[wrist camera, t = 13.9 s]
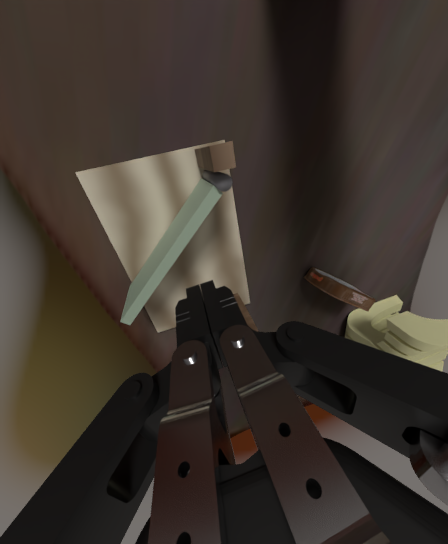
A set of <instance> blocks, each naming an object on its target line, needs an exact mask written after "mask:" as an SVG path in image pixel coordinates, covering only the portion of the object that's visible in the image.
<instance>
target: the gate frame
mask: <svg viewBox="0 0 448 544" xmlns="http://www.w3.org/2000/svg"><path fill="white" fill-rule="evenodd" d="M235 167H236V164H235V157H234V149H233V142H232V141H230V142H225V140H222V141H217V142H213V143H208V144H204V145H199V146H194V147H190V148H185V149H181V150H176V151H172V152H167V153H162V154H158V155H153V156H149V157H144V158H140V159H135V160H130V161H126V162H121V163H117V164H112V165H108V166H103V167H98V168H94V169H89V170H85V171H80V172H76V175H77V177H78V179H79V181H80V183H81V185H82V187H83V188H84V190H85V192H86V194H87V196H88V198H89V200H90V202H91V204H92V206H93V208H94V210H95V212H96V214H97V216H98V218H99V219H100V221H101V223H102V225H103V227H104V229H105V231H106V233H107V235H108V237H109V239H110V241H111V243H112V245H113V247H114V249H115V250H116V252H117V254H118V256H119V258H120V260H121V262H122V264H123V266H124V268H125V270H126V272H127V274H128V276H129V278H130V279H131V281H132V282H133V281H134V279H135V278H136V276H137V275H138V273H139V272H140V270H141V269H142V267H143V266H144V264H145V263H146V261H147V259H148V258H149V256H150V255H151V253H152V252H153V250H154V249H155V247H156V246H157V244H158V243H159V241H160V240H161V238H162V237H163V235H164V234H165V232H166V231H167V229H168V228H169V226H170V225H171V223H172V222H173V220H174V219H175V217H176V216H177V214H178V213H179V211H180V209H181V208H182V206H183V205H184V203H185V202H186V200H187V199H188V197H189V196H190V194H191V193H192V191H193V190H194V188H195V187H196V185H197V184H198V182H199V181H200V179H201V178H202V179H203V177H202V174H203V172H204V170H208V171H212V172H222V173H225V174H228V175H229V176H230V171H229V169H231V168H235ZM221 192H222V193H223V194H222V196H221V197H220V198H219V200H218V201H217V203H216V204H215V205H214V207H213V208H212V210H211V211H210V213H209V214H208V215H207V217H206V218H205V220H204V221H203V222H202V224H201V225H200V227H199V228H198V230H197V231H196V232H195V234H194V235H193V237H192V238H191V239H190V241H189V242H188V244H187V245H186V247H185V248H184V249H183V251H182V252H181V254H180V255H179V256H178V258H177V259H176V261H175V262H174V264H173V265H172V266H171V268H170V269H169V271H168V272H167V273H166V275H165V276H164V278H163V279H162V281H161V282H160V283H159V285H158V286H157V288H156V289H155V290H154V292H153V293H152V295H151V296H150V298H149V299H148V300H147V302H146V303H145V305H144V307H145V309H146V310H147V312H148V314H149V316H150V318H151V320H152V322H153V324H154V326H155V328H156V330H157V332H158V333H159V332H162V331H165V330H168V329H171V328H174V327H176V314H175V307H176V305H177V303H178V301H179V300H182V299H185V298H187V295H186V288H189V287H192V286H195V285H198V284H199V286H200V284H201V283H204V282H207V281H211V280H213V282H214V285H215V288H219V287H222V286H226V287H228V288H229V289H230V290H231V291H232V293H233V295H234V298H235V299H236V301H237V304H238V306H239V308H240V310H241V312H242V314H243V317H244V319H245V321H246V323H247V325H248V326H249V327H250V328H251V329H253V330H255V331H258V329H257V327H256V326H255V324H254V322H253V320H252V318H251V316H250V314H249V313H248V311H247V309H246V307H245V305H246V304H249V303H250V299H249V292H248V286H247V280H246V273H245V267H244V260H243V254H242V247H241V241H240V235H239V228H238V222H237V215H236V209H235V203H234V196H233V190H232V187H231V188H230V189H229V190H228V191H226V192H223V191H221ZM200 288H201V287H200ZM258 332H259V331H258Z"/></svg>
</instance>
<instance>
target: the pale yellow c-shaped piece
mask: <svg viewBox="0 0 448 544" xmlns="http://www.w3.org/2000/svg"><path fill="white" fill-rule="evenodd" d="M402 304H403V302H402V301H401V300H400V299H399V297H398V296H397V295H395V296H393V297H390V298H387V299H384V300H381V301H379V302H376V303H374V304H373V305H372V307H371V308H370V309H369V311H365V310H362V309H360V308H359V309H356V310H354V311H352V312H351V313H350V314H349V316H348V319H347V326H346V332H345V338H347V339H350V340H353V341H356V342H359V343H362V344H365V345H367V346H370V347H373V348H376V349H379V350H382V351H385V352H387V353H390V354H393V355H396V356H399V357H402V358H405V359H408V360H410V361H413V362H416V363H419V364H422V365H425V366H428V367H430V368H433V369H436V370H439V371H442V370H443V365H444V362H443V361H442V360H444V359H445V358H446V356H447V354H448V319H446V320H445V319H444V320H435V319H428V318H423V317H420V316H417V315H415V314H412V313H410V312H408V311H406V312H403V313H401V314H399V313H398V311H400V310H401V307H402Z"/></svg>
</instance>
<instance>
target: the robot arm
mask: <svg viewBox="0 0 448 544" xmlns="http://www.w3.org/2000/svg"><path fill="white" fill-rule="evenodd" d="M200 287H201V288H200ZM186 295H187V298H185V299H182V300H179V301H178V303H177V305H176V307H175V314H176V334H177V349H176V350H175V351H174V353H173V356H172V361H171V362H170V363H169V364H168V365H167V366H166V367H165V368H164V369H162V370H161V371H159V372H158V373H156V374H155V375H153V376H152V377H151V376H150V375H149V374H147V373H138V374H135V375H133V376H131V377H129V378H128V379H127V380H126V381H125V382H124V383H123V384H122V385H121V386H120V387H119V388H118V390H117V391H116V392H115V393H114V395H113V396H112V397H111V399H110V400H109V401H108V402H107V403H106V405H105V406H104V407H103V408H102V410H101V411H100V412H99V414H98V415H97V416H96V417H95V419H94V420H93V421H92V422H91V424H90V425H89V426H88V428H87V429H86V430H85V431H84V432H83V434H82V435H81V436H80V438H79V439H78V440H77V441H76V443H75V444H74V445H73V446H72V448H71V449H70V450H69V452H68V453H67V454H66V455H65V457H64V458H63V459H62V460H61V462H60V463H59V464H58V465H57V467H56V468H55V469H54V470H53V472H52V473H51V474H50V475H49V477H48V478H47V479H46V480H45V482H44V483H43V484H42V485H41V487H40V488H39V489H38V491H37V492H36V493H35V494H34V496H33V497H32V498H31V499H30V501H29V502H28V503H27V505H26V506H25V507H24V508H23V509H22V511H21V512H20V513H19V515H18V516H17V517H16V518H15V520H14V521H13V522H12V523H11V525H10V526H9V527H8V528H7V530H6V531H5V532H4V533H3V535H2V536H1V537H0V544H120V543H121V541H122V539H123V537H124V535H125V533H126V531H127V529H128V527H129V526H130V524H131V521H132V520H133V518H134V516H135V514H136V512H137V510H138V508H139V506H140V504H141V502H142V500H143V498H144V496H145V494H146V492H147V490H148V488H149V486H150V484H151V482H152V480H153V478H154V485H153V496H152V506H151V516H150V518H149V519H148V521H147V522H146V524H145V526H144V528H143V530H142V531H141V533H140V535H139V537H138V539H137V542H136V543H135V544H448V514H447V513H446V512H444V511H443V510H441V509H440V508H438V507H437V506H435V505H434V504H432V503H431V502H429V501H428V500H426V499H425V498H423V497H422V496H420V495H419V494H417V493H416V492H414V491H413V490H411V489H410V488H408V487H407V486H405V485H404V484H402V483H401V482H399V481H398V480H396V479H395V478H393V477H392V476H390V475H389V474H387V473H386V472H384V471H382V470H381V469H380V468H378V467H377V466H375V465H374V464H372V463H371V462H369V461H368V460H366V459H365V458H364V457H362V456H361V455H359V454H358V453H356V452H355V451H353V450H351V449H350V448H348V447H346V446H344V445H342V444H340V443H338V442H335V441H333V440H330V439H327V438H323V437H322V436H321V434H320V433H319V431H318V429H317V427H316V426H315V424H314V423H313V421H312V419H311V418H310V416H309V415H308V413H307V411H306V410H305V408H304V406H303V405H302V403H301V402H300V400H299V398H298V397H297V395H299V396H301V397H303V398H304V399H306V400H308V401H310V402H311V403H313V404H315V405H317V406H319V407H320V408H322V409H324V410H326V411H327V412H329V413H331V414H333V415H335V416H336V417H338V418H340V419H341V420H343V421H345V422H347V423H348V424H350V425H352V426H354V427H355V428H357V429H359V430H361V431H362V432H364V433H366V434H368V435H370V436H371V437H373V438H375V439H376V440H378V441H380V442H382V443H383V444H385V445H387V446H389V447H391V448H392V449H394V450H396V451H398V452H399V453H401V454H403V455H405V456H406V457H408V458H410V462H411V465H412V468H413V470H414V472H415V474H416V475H417V477H418V478H419V480H420V481H421V482H422V483H423V485H424V486H425V487H426V488H427V489H428V490H429V491H430V492H431V493H432V494H433V495H434V496H436V497H437V498H438V499H440V500H441V501H442V502H444V503H445V504H446V505H448V374H447V373H445V372H442V371H439V370H436V369H433V368H430V367H428V366H425V365H422V364H419V363H416V362H413V361H410V360H408V359H405V358H402V357H399V356H396V355H393V354H390V353H387V352H385V351H382V350H379V349H376V348H373V347H370V346H367V345H365V344H362V343H359V342H356V341H353V340H350V339H347V338H345V337H342V336H339V335H336V334H333V333H330V332H327V331H325V330H322V329H319V328H316V327H313V326H310V325H307V324H304V323H301V322H296V321H292V322H287V323H284V324H283V325H281V326H280V327H279V328H278V330H277V332H267V333H263V332H258V331H255V330H253V329H251V328H250V327H249V326H248V325H247V323H246V321H245V319H244V317H243V314H242V312H241V310H240V308H239V306H238V304H237V301H236V299H235V298H234V295H233V293H232V291H231V290H230V289H229V288H228V287H226V286H222V287H219V288H215V285H214V282H213V280H211V281H207V282H204V283H201V284H200V286H199V284H198V285H195V286H192V287H189V288H186ZM220 356H221V358H220ZM221 359H222V362H223V365H224V367H226V366H228V369H229V371H230V374H231V377H232V380H233V383H234V386H235V389H236V391H237V394H238V397H239V399H240V402H241V405H242V407H243V410H244V413H245V415H246V418H247V421H248V423H249V426H250V429H251V432H252V434H253V437H254V440H255V442H256V445H257V448H258V451H257V452H256V453H255V454H254V455H252V456H251V457H250V458H249V459H248V460H246V461H245V462H244V463H242V464H237V465H236V462H235V457H234V453H233V449H232V444H231V441H230V436H229V430H228V424H227V417H226V411H225V404H224V398H223V391H222V386H221V380H220V375H219V371H218V369H221V368H223V366H222V362H221ZM295 393H296V394H297V395H296V394H295Z"/></svg>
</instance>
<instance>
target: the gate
mask: <svg viewBox="0 0 448 544" xmlns="http://www.w3.org/2000/svg"><path fill="white" fill-rule="evenodd" d="M202 177H203V179H202V178H201V179H200V181H199V182H198V184H197V185H196V187H195V188H194V190H193V191H192V193H191V194H190V196H189V197H188V199H187V200H186V202H185V203H184V205H183V206H182V208H181V209H180V211H179V213H178V214H177V216H176V217H175V219H174V220H173V222H172V223H171V225H170V226H169V228H168V229H167V231H166V232H165V234H164V235H163V237H162V238H161V240H160V241H159V243H158V244H157V246H156V247H155V249H154V250H153V252H152V253H151V255H150V256H149V258H148V259H147V261H146V263H145V264H144V266H143V267H142V269H141V270H140V272H139V273H138V275H137V276H136V278H135V279H134V281H133V282H132V284H131V285H130V287H129V291H128V295H127V299H126V302H125V306H124V310H123V314H122V318H121V321H120V322H122V323H125V324H128V325H131V323H132V322H133V320H134V319H135V317H136V316H137V315H138V313H139V312H140V310H141V309H142V308H143V306H144V305H145V303H146V302H147V300H148V299H149V298H150V296H151V295H152V293H153V292H154V290H155V289H156V288H157V286H158V285H159V283H160V282H161V281H162V279H163V278H164V276H165V275H166V273H167V272H168V271H169V269H170V268H171V266H172V265H173V264H174V262H175V261H176V259H177V258H178V256H179V255H180V254H181V252H182V251H183V249H184V248H185V247H186V245H187V244H188V242H189V241H190V239H191V238H192V237H193V235H194V234H195V232H196V231H197V230H198V228H199V227H200V225H201V224H202V222H203V221H204V220H205V218H206V217H207V215H208V214H209V213H210V211H211V210H212V208H213V207H214V205H215V204H216V203H217V201H218V200H219V198H220V197H221V196H222V194H223V193H222V192H221V191H223V192H226V191H228V190H229V189H230V188H231V187H232V178H231V177H230V176H229V175H228V174H225V173H222V172H212V171H208V170H204V172H203V174H202Z"/></svg>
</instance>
